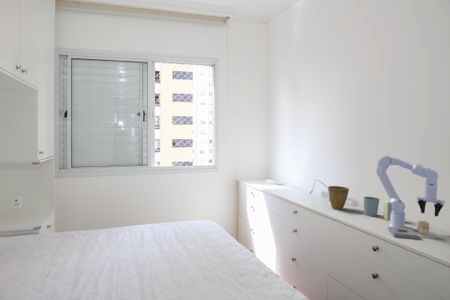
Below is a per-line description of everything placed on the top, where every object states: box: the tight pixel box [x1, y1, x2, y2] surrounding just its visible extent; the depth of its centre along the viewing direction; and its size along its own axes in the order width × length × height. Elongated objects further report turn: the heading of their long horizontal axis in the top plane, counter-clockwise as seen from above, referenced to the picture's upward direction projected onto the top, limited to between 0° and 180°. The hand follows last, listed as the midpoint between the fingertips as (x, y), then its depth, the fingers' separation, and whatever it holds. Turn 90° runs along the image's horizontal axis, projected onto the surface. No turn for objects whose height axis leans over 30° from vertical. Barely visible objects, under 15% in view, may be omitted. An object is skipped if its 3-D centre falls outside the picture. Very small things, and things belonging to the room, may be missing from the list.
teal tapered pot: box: [363, 196, 380, 217], centre depth 224 cm, size 10×10×12 cm
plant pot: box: [327, 185, 350, 211], centre depth 241 cm, size 15×15×16 cm
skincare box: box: [383, 200, 393, 221], centre depth 213 cm, size 6×4×12 cm
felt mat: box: [414, 231, 436, 240], centre depth 179 cm, size 9×9×1 cm
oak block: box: [416, 220, 430, 236], centre depth 179 cm, size 4×4×7 cm
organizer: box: [387, 226, 420, 240], centre depth 180 cm, size 14×12×2 cm
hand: (429, 214), depth 185 cm, fingers open, 7 cm apart
